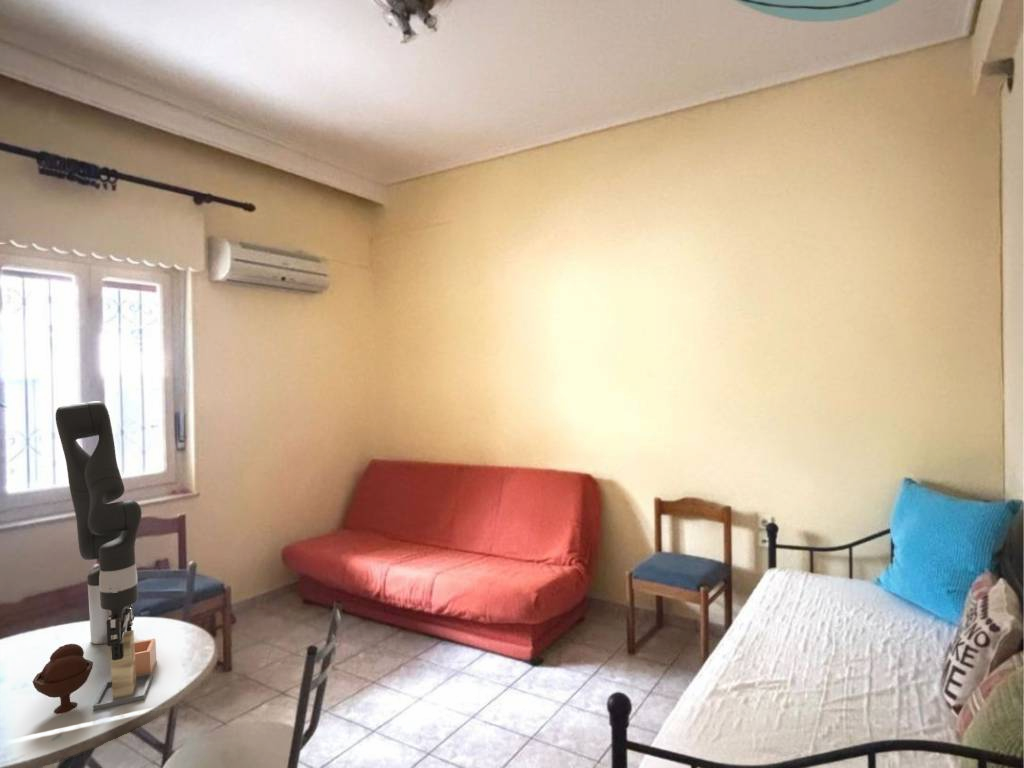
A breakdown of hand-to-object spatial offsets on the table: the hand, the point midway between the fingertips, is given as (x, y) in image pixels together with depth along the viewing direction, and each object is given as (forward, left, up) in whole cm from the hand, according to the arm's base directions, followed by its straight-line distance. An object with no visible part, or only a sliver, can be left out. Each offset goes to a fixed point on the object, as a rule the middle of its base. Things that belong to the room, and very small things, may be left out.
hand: (122, 650), depth 137 cm
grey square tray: (0, 0, -11) cm, 11 cm away
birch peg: (0, 0, -10) cm, 10 cm away
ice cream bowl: (+1, -11, -12) cm, 16 cm away
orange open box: (-10, 0, -11) cm, 15 cm away
